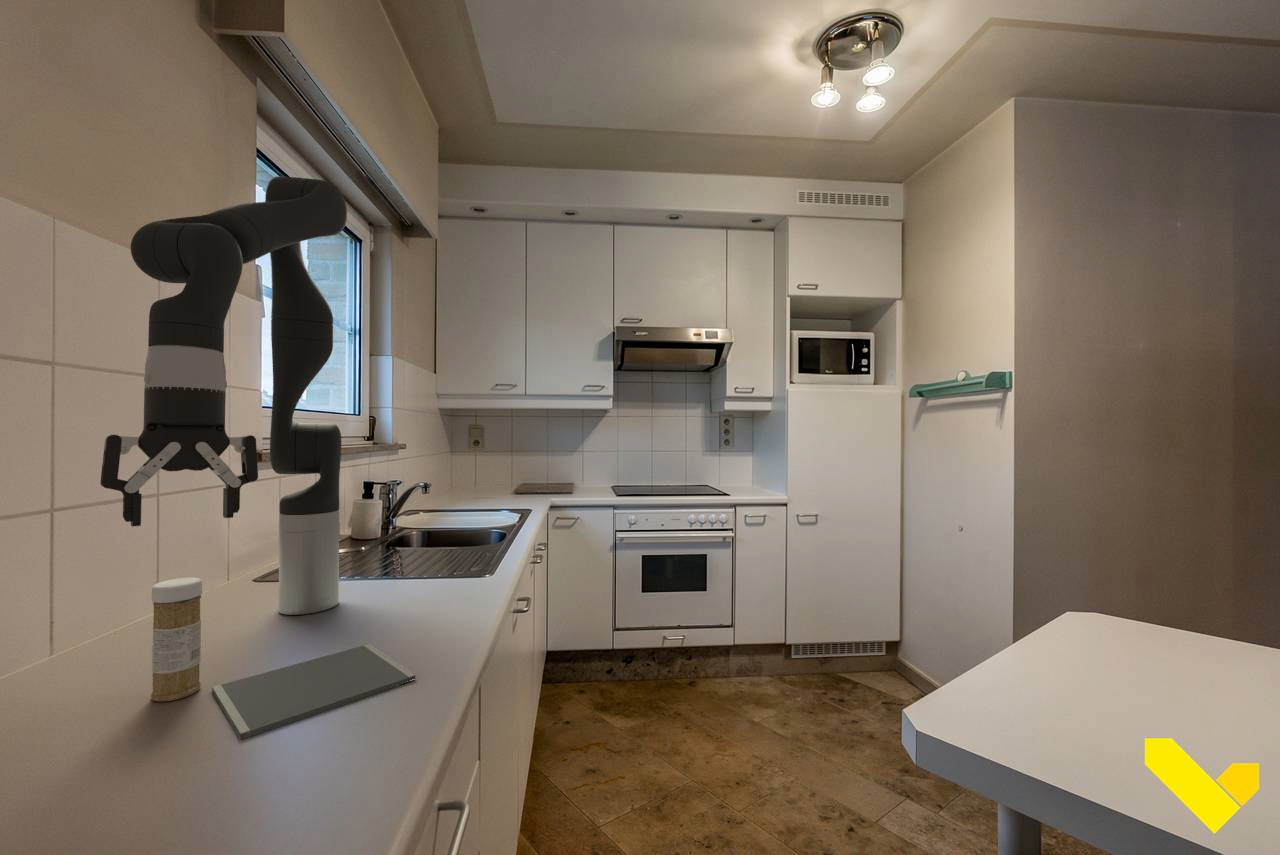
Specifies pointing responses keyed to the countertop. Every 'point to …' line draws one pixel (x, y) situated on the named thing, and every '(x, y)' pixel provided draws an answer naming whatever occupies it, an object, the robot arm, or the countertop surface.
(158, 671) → the sprinkles bottle
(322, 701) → the mat
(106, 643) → the countertop surface
